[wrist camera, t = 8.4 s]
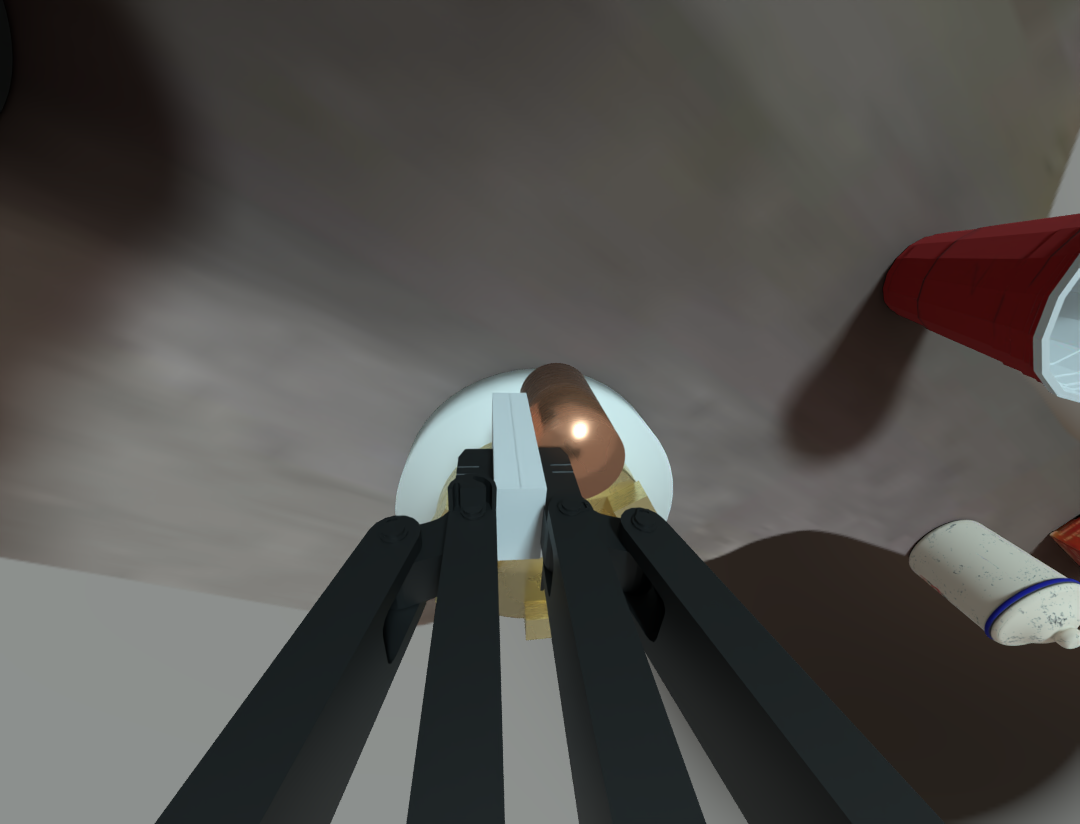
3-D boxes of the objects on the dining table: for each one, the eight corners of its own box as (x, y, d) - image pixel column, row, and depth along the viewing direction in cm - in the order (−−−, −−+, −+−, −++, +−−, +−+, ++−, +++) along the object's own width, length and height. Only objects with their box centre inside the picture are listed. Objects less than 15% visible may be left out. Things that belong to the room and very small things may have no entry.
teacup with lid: (891, 575, 46) (1005, 677, 36) (928, 518, 42) (1069, 615, 32) (975, 568, 48) (1108, 665, 38) (1019, 513, 44) (1182, 603, 33)
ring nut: (625, 579, 35) (680, 727, 25) (447, 596, 33) (427, 762, 23) (666, 331, 24) (790, 410, 14) (409, 336, 23) (343, 430, 13)
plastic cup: (1007, 166, 26) (1359, 131, 16) (974, 314, 31) (1224, 364, 21) (853, 223, 27) (1091, 226, 16) (845, 360, 32) (1023, 431, 21)
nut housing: (454, 322, 27) (448, 339, 23) (701, 419, 33) (728, 445, 29) (377, 544, 35) (364, 583, 31) (586, 589, 41) (596, 626, 37)
